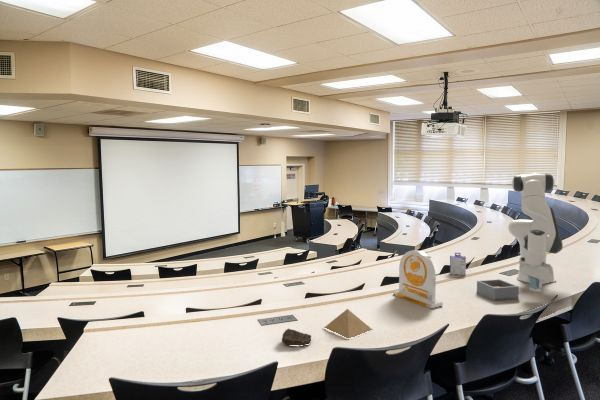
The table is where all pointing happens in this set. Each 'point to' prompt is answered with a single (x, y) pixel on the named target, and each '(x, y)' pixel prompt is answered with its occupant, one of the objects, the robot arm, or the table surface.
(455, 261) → the ink cartridge box
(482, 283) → the walled box
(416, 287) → the award
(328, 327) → the model pyramid
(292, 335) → the dark brown rock
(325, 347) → the table surface
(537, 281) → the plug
